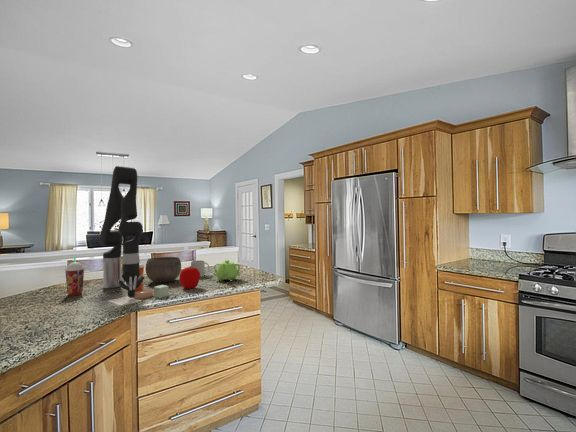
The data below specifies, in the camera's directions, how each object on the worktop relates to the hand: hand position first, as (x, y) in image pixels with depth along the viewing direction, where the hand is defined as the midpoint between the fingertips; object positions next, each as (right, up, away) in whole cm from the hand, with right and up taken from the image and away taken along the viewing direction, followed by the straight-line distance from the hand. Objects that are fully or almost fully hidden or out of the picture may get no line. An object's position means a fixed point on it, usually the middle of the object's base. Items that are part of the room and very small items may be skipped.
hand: (131, 297), depth 154 cm
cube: (+12, -1, +6) cm, 14 cm away
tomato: (+22, -2, +24) cm, 32 cm away
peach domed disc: (+4, -1, +5) cm, 6 cm away
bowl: (-1, -1, +42) cm, 42 cm away
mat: (+2, -2, +1) cm, 3 cm away
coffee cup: (-6, -2, +18) cm, 19 cm away
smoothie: (-36, -2, +12) cm, 38 cm away
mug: (+17, -1, +59) cm, 62 cm away
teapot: (+38, -1, +45) cm, 59 cm away
